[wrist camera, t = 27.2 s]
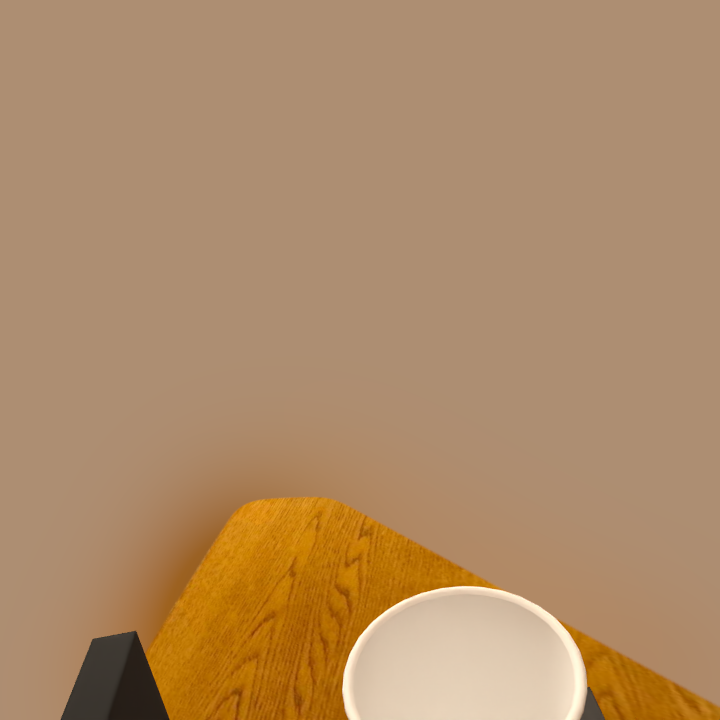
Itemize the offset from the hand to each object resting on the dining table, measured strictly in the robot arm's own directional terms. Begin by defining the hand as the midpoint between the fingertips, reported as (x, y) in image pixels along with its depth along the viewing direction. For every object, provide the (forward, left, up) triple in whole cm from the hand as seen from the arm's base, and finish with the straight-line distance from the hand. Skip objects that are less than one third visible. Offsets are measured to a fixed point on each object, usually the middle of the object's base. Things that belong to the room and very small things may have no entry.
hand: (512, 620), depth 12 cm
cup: (0, -12, -25) cm, 27 cm away
